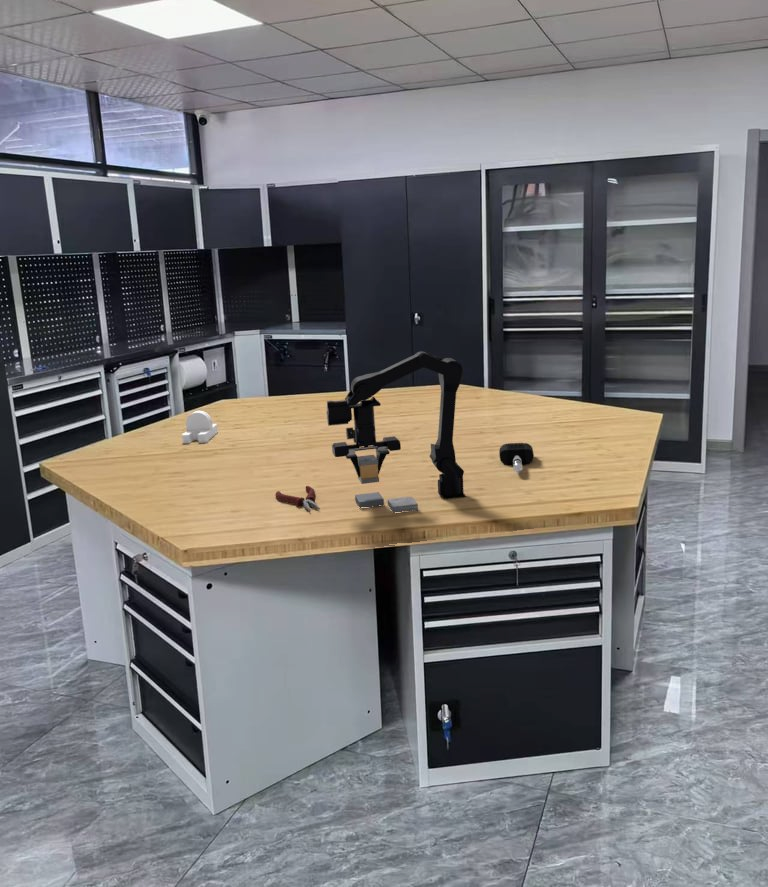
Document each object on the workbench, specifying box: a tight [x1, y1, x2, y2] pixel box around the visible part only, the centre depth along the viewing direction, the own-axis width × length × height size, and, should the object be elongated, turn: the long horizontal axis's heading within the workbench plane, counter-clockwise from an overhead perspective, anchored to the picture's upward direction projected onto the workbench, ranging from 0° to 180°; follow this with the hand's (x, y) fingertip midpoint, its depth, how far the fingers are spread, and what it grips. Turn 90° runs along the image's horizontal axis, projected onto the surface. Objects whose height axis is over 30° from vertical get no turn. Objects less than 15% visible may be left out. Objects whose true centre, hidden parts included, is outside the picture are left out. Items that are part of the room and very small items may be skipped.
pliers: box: [275, 485, 321, 512], centre depth 240 cm, size 12×20×3 cm, turn 25°
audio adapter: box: [498, 442, 535, 474], centre depth 263 cm, size 11×5×25 cm
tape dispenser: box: [181, 410, 219, 444], centre depth 327 cm, size 10×18×11 cm, turn 176°
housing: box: [357, 454, 380, 485], centre depth 233 cm, size 6×5×6 cm
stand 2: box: [387, 496, 419, 514], centre depth 230 cm, size 7×7×2 cm
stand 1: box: [354, 491, 385, 509], centre depth 235 cm, size 7×7×2 cm
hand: (368, 475), depth 234 cm, fingers closed on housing, 5 cm apart
